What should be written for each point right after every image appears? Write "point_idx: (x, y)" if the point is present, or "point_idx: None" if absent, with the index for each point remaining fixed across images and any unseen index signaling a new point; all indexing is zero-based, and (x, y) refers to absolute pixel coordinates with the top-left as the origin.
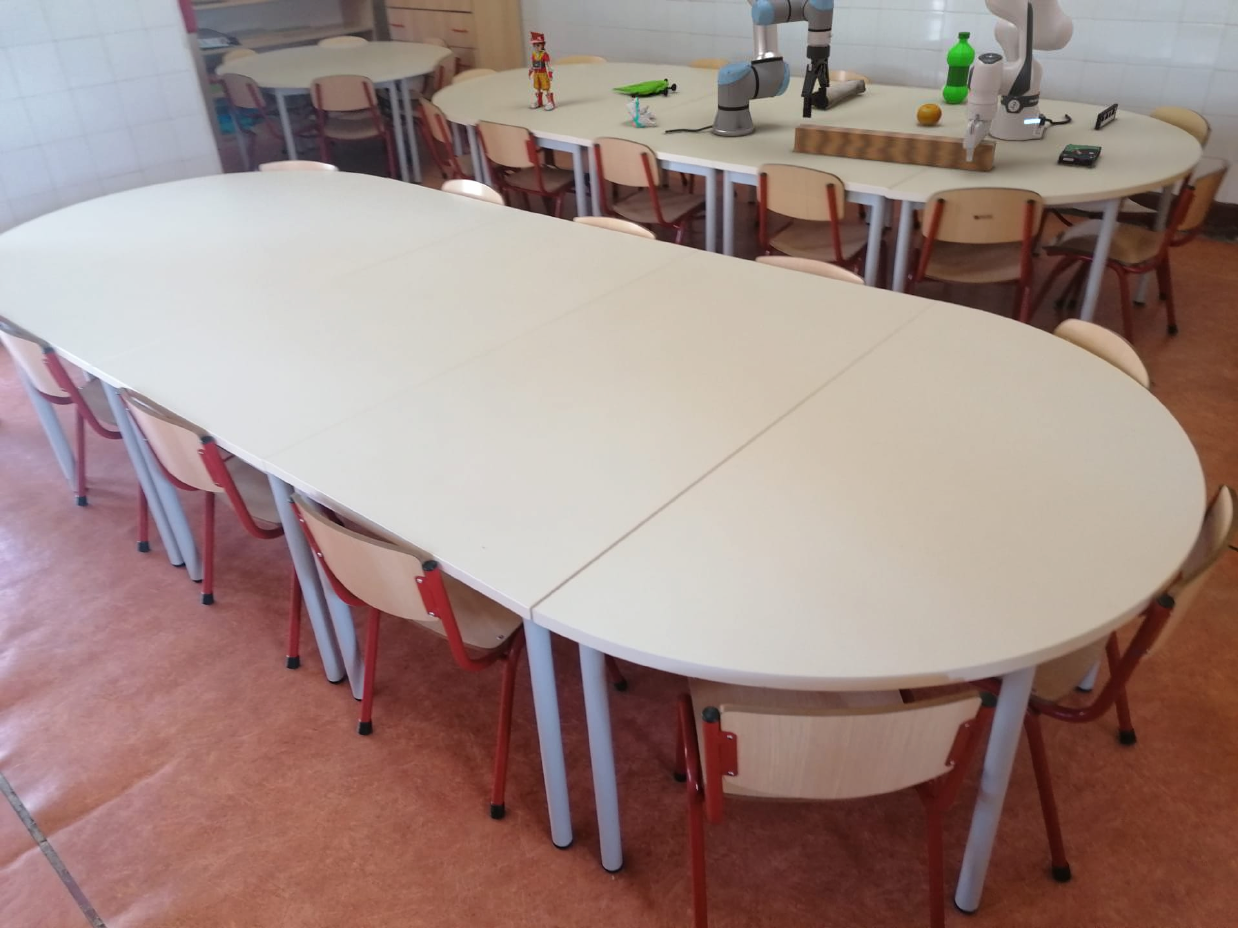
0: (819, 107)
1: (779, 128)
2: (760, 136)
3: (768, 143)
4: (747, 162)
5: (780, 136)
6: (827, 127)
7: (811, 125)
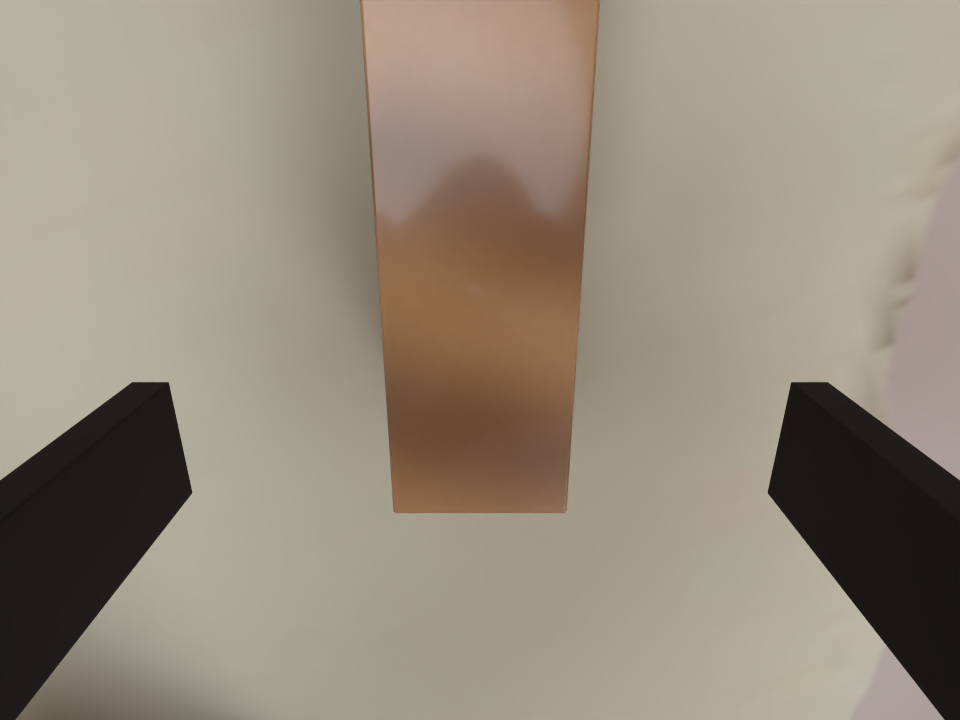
0: (177, 464)
1: None
2: (278, 697)
3: (406, 612)
4: None
5: (216, 604)
6: (444, 187)
7: (425, 396)
